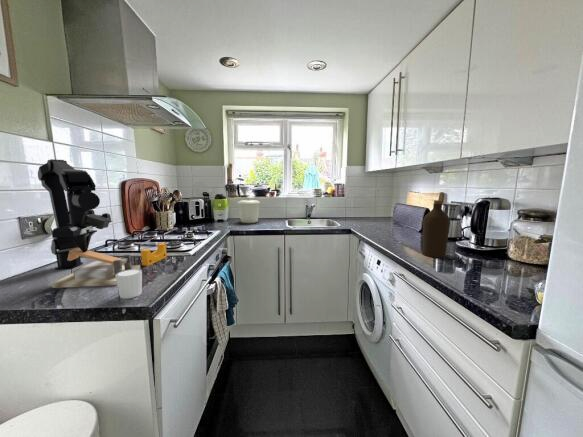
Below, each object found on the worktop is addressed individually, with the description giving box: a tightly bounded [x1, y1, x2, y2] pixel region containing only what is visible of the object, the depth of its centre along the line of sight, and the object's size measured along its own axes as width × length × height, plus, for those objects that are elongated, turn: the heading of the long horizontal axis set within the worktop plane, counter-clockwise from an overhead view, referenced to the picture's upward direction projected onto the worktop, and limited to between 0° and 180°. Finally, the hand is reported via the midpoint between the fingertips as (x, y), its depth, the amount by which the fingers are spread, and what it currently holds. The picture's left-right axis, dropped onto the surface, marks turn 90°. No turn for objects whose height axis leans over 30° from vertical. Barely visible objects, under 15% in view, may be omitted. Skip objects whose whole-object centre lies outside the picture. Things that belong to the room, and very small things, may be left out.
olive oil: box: [421, 199, 451, 259], centre depth 116 cm, size 11×11×25 cm
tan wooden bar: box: [67, 248, 128, 266], centre depth 91 cm, size 17×5×4 cm, turn 97°
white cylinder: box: [115, 269, 143, 299], centre depth 78 cm, size 7×7×7 cm
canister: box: [237, 196, 261, 224], centre depth 206 cm, size 18×18×21 cm
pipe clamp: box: [140, 242, 168, 267], centre depth 110 cm, size 12×4×6 cm, turn 170°
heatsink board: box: [51, 254, 141, 289], centre depth 92 cm, size 20×16×7 cm
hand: (84, 251), depth 91 cm, fingers closed, pressing on tan wooden bar
